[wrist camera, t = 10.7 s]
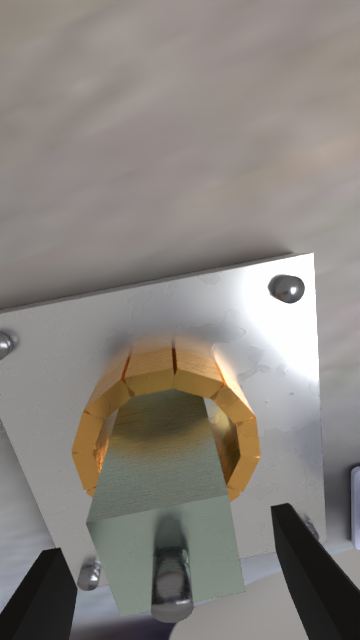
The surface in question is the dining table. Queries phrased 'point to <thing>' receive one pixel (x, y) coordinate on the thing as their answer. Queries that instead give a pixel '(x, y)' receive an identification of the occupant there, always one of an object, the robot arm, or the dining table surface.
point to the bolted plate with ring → (171, 373)
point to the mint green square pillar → (164, 509)
